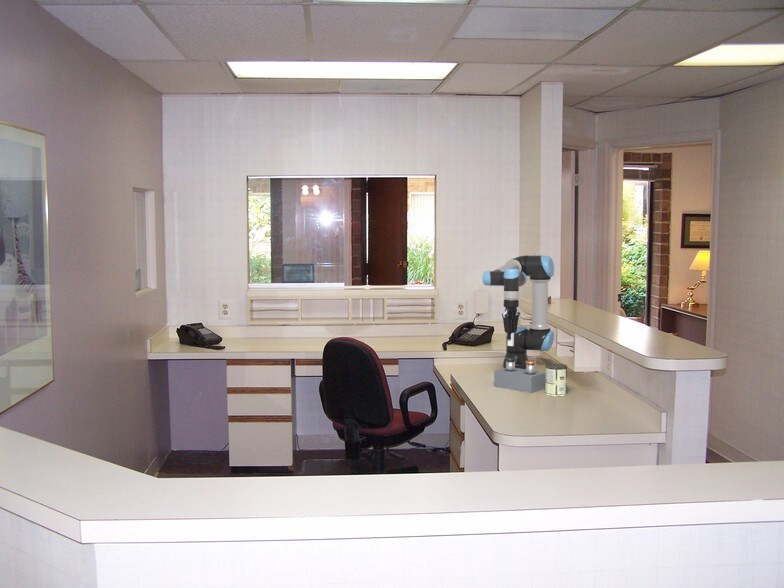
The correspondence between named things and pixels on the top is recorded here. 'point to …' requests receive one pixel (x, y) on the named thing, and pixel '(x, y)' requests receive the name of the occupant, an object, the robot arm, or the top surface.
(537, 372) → the block
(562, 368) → the coffee can
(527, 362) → the plunger orange
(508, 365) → the dark-lidded glass jar
